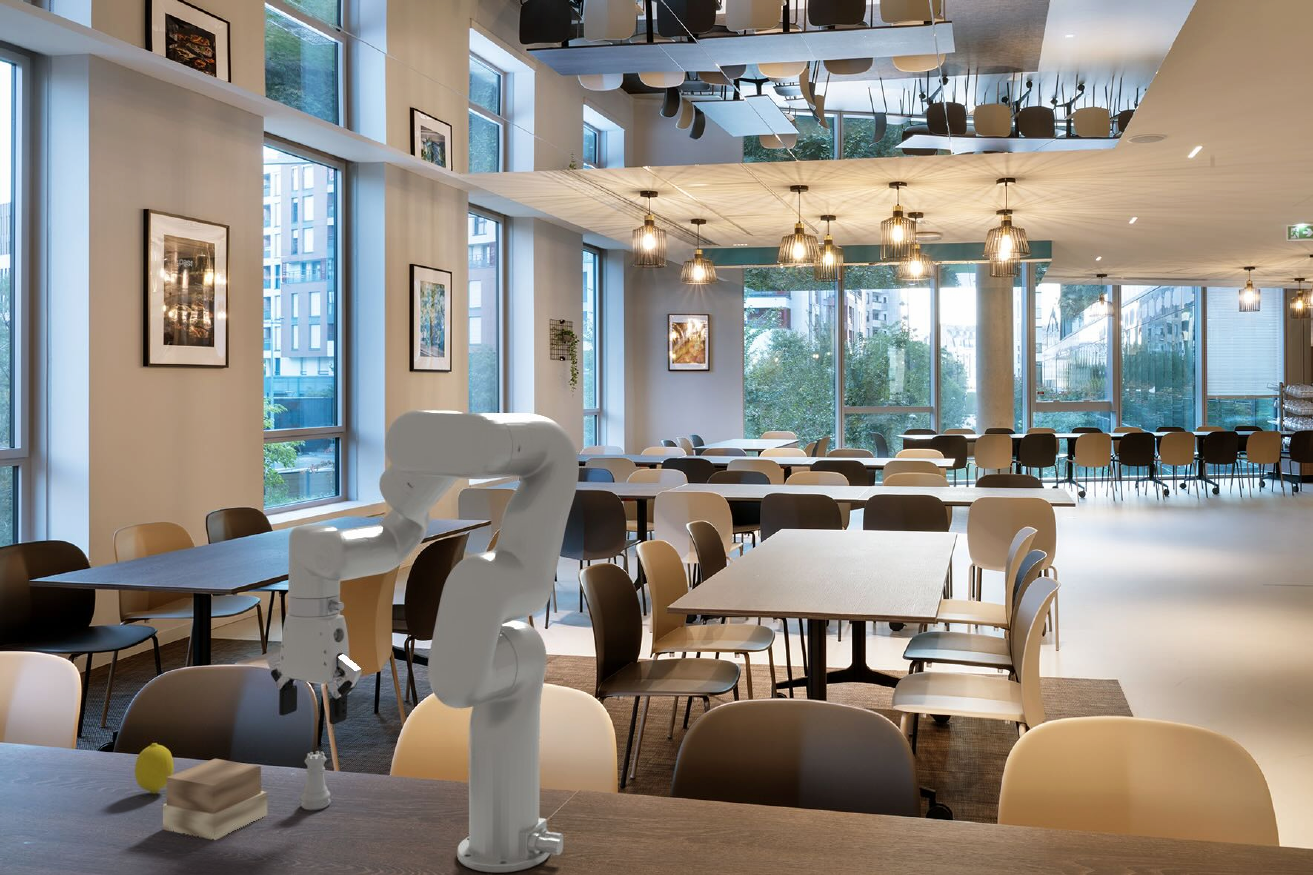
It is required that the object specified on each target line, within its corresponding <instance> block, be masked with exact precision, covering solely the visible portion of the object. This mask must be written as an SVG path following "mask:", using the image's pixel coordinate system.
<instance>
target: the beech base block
mask: <svg viewBox="0 0 1313 875" xmlns="http://www.w3.org/2000/svg"><path fill="white" fill-rule="evenodd" d="M264 816H265V817H267V816H268V791H264V790H261V793H260V794H258V795H255V796H253V797H251V798H249V799H246V800H244V801H242V802H240V803H237V804H235V805H233V806H231V807H228V808H226V809H224V810H222V811H219V812H217V813H215V814H211V813H206V812H201V811H196V810H191V809H186V808H181V807H176V806H171V805H167V802H166V803H164V804H162V830H164V831H168V832H173V831H174V832H173V833H179V834H183V833H185V834H184V835H187V834H188V836H192V835H193V837H197V836H199V838H202V837H203V838H204V839H208V840H212V839H214V840H213V841H217V840H219V839H222V838H224V837H225V836H227V834H228V833H230V834H231V832H232V831H234V830H236V831H238V830H240V829H241V828H240V827H242V828H244V827H246V826H248V825H250V824H251V823H250V822H253V821H255V822H257V821H259V820H261V819H262V817H263V818H265V817H264ZM258 819H259V820H258ZM256 820H257V821H256ZM249 823H250V824H249ZM253 823H254V822H253ZM247 824H248V825H247ZM245 825H246V826H245ZM243 826H244V827H243ZM239 828H240V829H239ZM237 829H238V830H237ZM234 832H235V831H234ZM232 833H233V832H232ZM228 835H229V834H228Z"/></svg>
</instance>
